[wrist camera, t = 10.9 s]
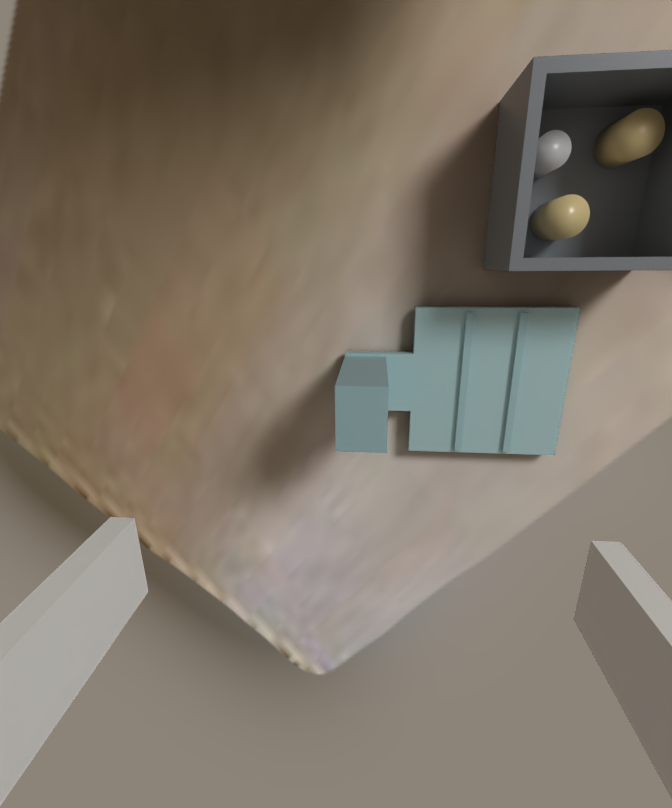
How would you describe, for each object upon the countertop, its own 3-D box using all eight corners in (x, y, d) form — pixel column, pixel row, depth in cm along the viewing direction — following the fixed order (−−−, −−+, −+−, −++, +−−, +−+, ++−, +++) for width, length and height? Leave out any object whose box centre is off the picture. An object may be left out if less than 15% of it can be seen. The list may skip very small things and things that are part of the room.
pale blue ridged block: (345, 306, 31) (334, 322, 22) (575, 306, 29) (653, 324, 21) (345, 444, 34) (335, 502, 26) (550, 450, 33) (609, 514, 24)
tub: (500, 101, 26) (534, 56, 21) (671, 94, 25) (755, 45, 20) (483, 269, 29) (508, 271, 24) (634, 268, 29) (698, 269, 23)
